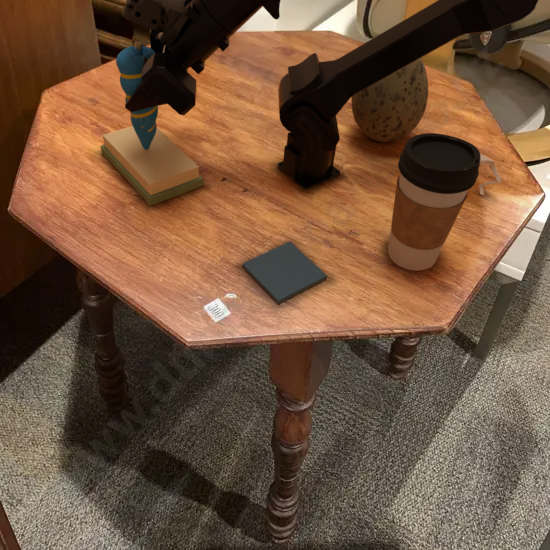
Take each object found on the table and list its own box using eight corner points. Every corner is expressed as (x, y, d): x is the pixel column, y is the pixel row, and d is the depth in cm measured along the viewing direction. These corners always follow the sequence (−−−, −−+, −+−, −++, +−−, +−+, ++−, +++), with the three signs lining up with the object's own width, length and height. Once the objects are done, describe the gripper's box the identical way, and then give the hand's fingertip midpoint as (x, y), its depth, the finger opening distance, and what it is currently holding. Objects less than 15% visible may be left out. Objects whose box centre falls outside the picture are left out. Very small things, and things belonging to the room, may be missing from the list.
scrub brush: (152, 136, 88) (150, 118, 86) (203, 185, 81) (203, 167, 79) (101, 152, 85) (98, 134, 82) (150, 206, 77) (148, 187, 75)
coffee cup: (430, 289, 70) (467, 183, 59) (365, 258, 73) (389, 152, 62) (457, 249, 75) (495, 145, 64) (395, 222, 78) (422, 118, 67)
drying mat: (289, 244, 73) (289, 241, 73) (326, 279, 70) (327, 275, 69) (242, 266, 70) (242, 263, 70) (278, 304, 67) (278, 300, 66)
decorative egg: (332, 127, 93) (345, 30, 82) (388, 112, 97) (408, 18, 86) (372, 164, 86) (393, 64, 76) (431, 147, 91) (458, 50, 80)
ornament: (119, 151, 80) (103, 40, 69) (142, 133, 83) (130, 24, 73) (152, 163, 78) (141, 51, 68) (174, 144, 82) (167, 35, 71)
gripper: (169, -71, 71) (89, 20, 78) (154, -11, 58) (59, 92, 65) (237, 0, 77) (156, 79, 84) (236, 70, 64) (141, 156, 71)
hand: (130, 98), depth 76 cm, fingers closed on ornament, 5 cm apart
